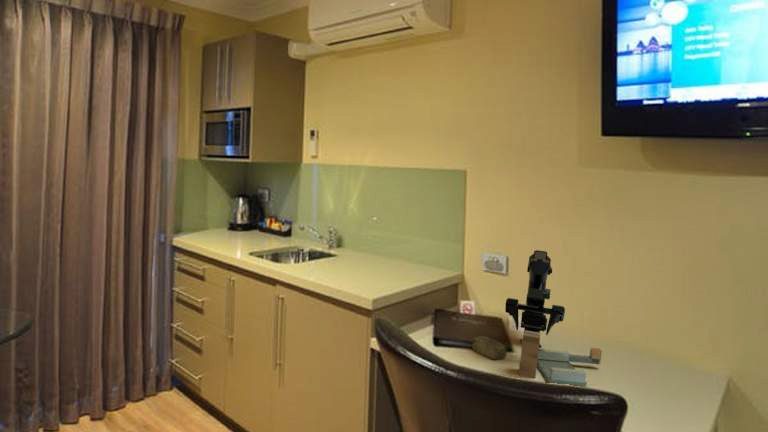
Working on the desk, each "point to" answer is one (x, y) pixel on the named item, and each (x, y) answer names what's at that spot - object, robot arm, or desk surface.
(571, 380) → the frosted green glass slab
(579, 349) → the desk surface
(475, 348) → the stone block
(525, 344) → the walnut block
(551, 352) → the light brown wooden block
